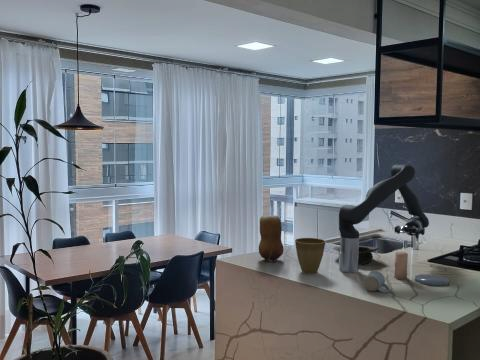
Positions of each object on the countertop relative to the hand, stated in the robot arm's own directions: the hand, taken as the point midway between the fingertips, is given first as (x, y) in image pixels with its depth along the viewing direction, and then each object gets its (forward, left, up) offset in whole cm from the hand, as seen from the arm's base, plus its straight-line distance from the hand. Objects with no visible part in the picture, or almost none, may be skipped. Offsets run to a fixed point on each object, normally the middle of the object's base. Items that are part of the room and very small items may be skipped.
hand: (407, 232), depth 234 cm
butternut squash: (-68, +12, -20) cm, 72 cm away
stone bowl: (-22, +20, -21) cm, 37 cm away
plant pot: (-48, -7, -20) cm, 53 cm away
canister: (-5, -10, -20) cm, 23 cm away
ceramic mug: (-20, -31, -21) cm, 42 cm away
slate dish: (+9, -14, -20) cm, 26 cm away
